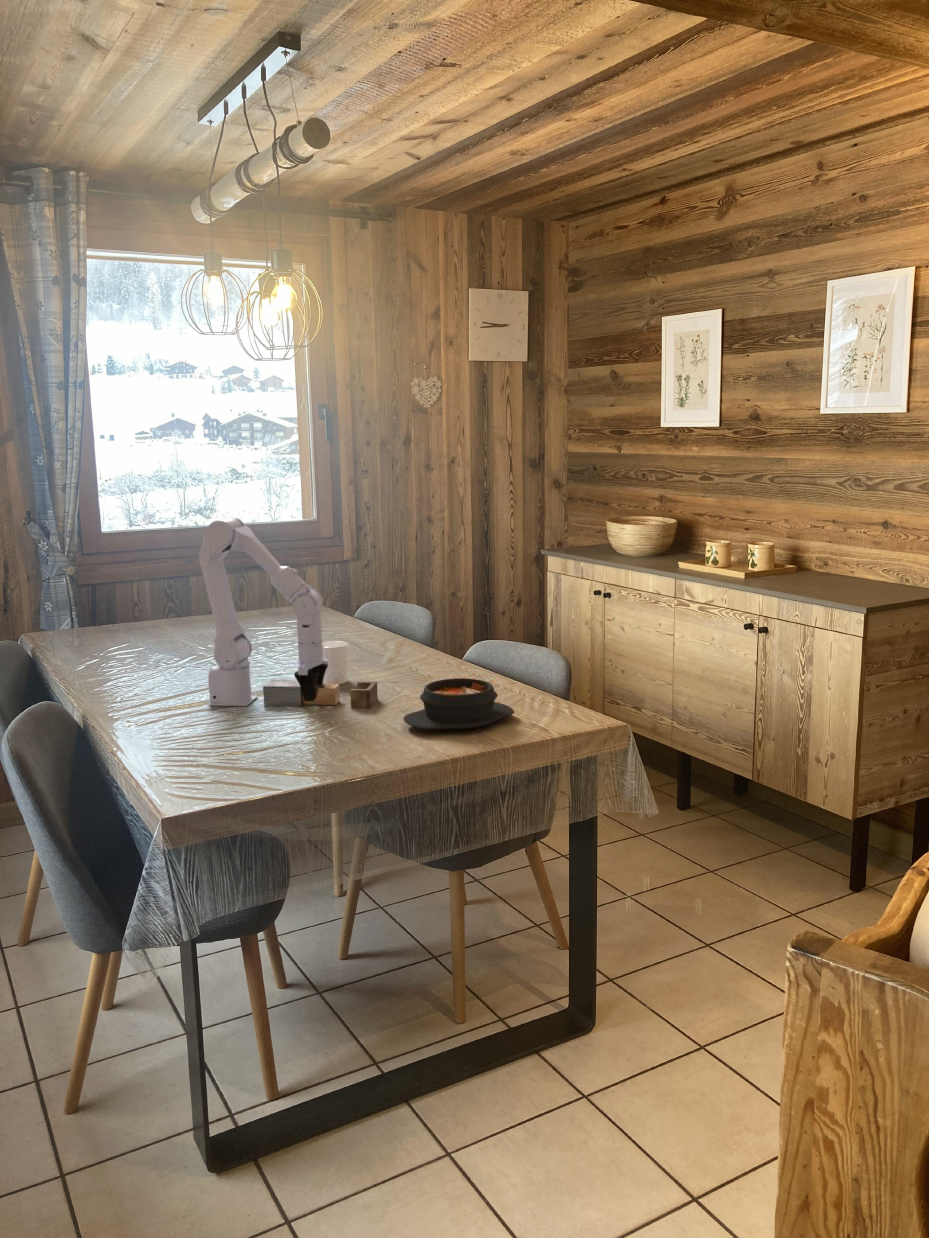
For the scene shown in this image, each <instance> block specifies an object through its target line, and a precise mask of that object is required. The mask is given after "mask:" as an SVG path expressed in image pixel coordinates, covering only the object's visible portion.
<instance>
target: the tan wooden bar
mask: <svg viewBox="0 0 929 1238" xmlns="http://www.w3.org/2000/svg"><path fill="white" fill-rule="evenodd" d="M301 695H302V706H303V705H309V706H310V705H314V706H316V705H318V706H326V705H327V706H336V705H337V704H338V703H339V702H340V701H341V698H340V684H316V688H315V698H314V701H305V700H304V697H303V693H302V690H301Z"/></svg>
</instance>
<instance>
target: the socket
mask: <svg viewBox="0 0 929 1238" xmlns="http://www.w3.org/2000/svg"><path fill="white" fill-rule="evenodd" d="M356 684H357V687H356V688H351V689H350V692H349V693H350V694H349V695H350V708H351V709H358V710H359V709H362V710H363V709H365V710H366V709H367V710H368V709H369V710H370V709H371V708H372V707H373V706H374V705H375V704H376V702H377V701H378V699H379V698H378V697H379V696H378V681H361V680H359V681H357V683H356Z"/></svg>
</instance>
